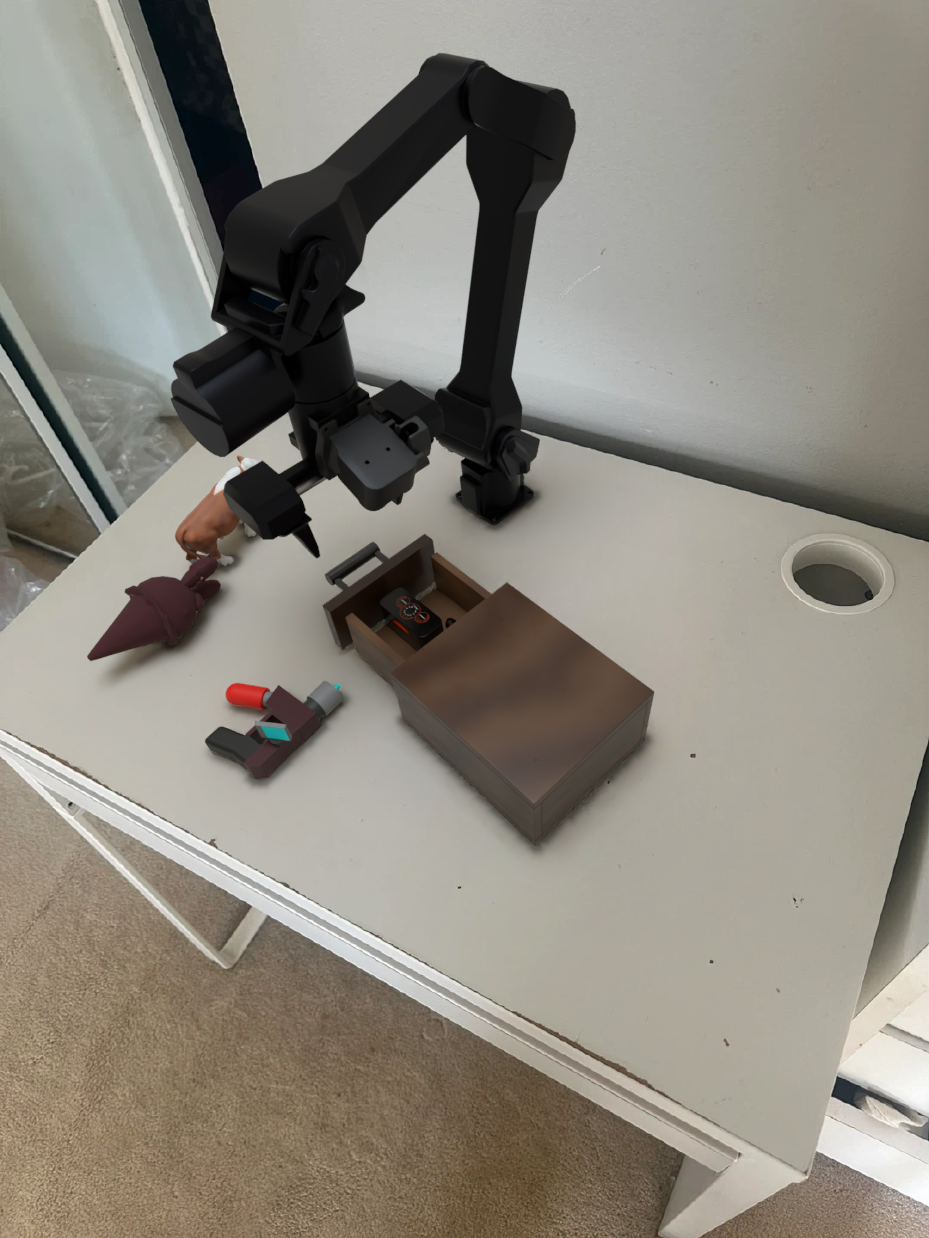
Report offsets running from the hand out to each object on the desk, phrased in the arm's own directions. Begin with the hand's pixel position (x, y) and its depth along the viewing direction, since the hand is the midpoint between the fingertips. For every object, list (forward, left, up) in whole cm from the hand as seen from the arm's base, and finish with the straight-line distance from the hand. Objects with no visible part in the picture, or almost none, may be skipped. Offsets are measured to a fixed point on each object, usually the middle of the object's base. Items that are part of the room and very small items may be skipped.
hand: (356, 528), depth 71 cm
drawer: (0, +7, -10) cm, 12 cm away
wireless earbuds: (0, +8, -9) cm, 12 cm away
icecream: (+17, -12, -11) cm, 24 cm away
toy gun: (+15, +4, -11) cm, 19 cm away
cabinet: (0, +21, -11) cm, 23 cm away
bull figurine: (+5, -18, -11) cm, 22 cm away
